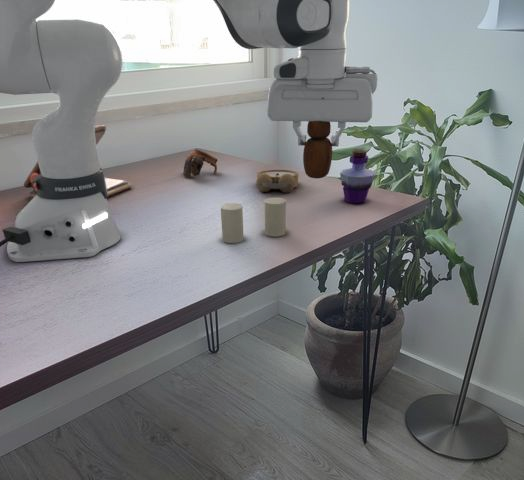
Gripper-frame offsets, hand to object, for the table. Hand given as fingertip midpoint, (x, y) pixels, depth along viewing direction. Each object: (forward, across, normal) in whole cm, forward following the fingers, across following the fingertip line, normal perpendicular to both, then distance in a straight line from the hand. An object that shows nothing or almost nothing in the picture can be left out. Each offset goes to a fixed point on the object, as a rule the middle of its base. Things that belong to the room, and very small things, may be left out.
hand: (318, 145), depth 101 cm
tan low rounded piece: (+17, +13, -28) cm, 36 cm away
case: (+17, +65, -18) cm, 69 cm away
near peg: (+17, +16, +9) cm, 25 cm away
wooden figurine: (+6, 0, 0) cm, 6 cm away
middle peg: (+17, +8, +4) cm, 19 cm away
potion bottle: (+17, -8, -20) cm, 28 cm away
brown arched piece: (+17, +38, -38) cm, 57 cm away
